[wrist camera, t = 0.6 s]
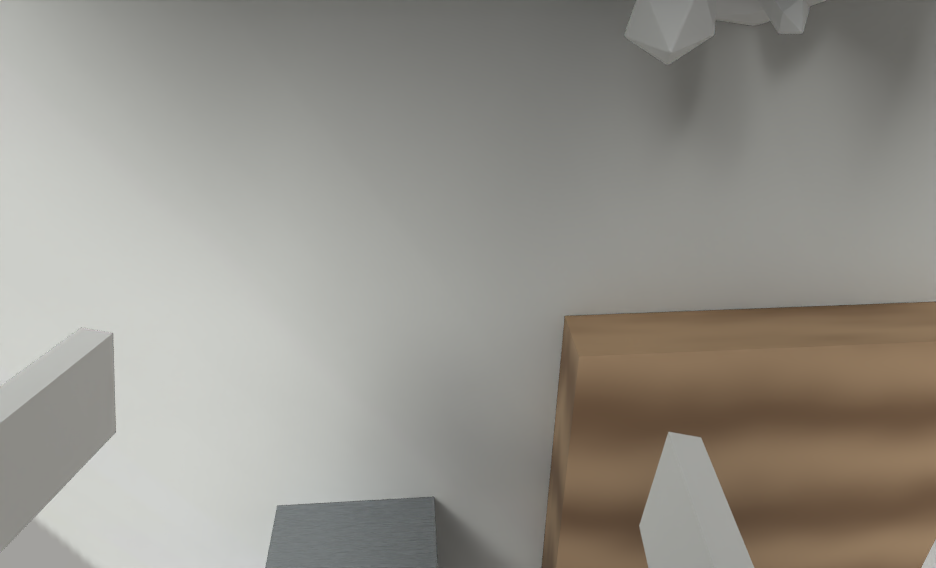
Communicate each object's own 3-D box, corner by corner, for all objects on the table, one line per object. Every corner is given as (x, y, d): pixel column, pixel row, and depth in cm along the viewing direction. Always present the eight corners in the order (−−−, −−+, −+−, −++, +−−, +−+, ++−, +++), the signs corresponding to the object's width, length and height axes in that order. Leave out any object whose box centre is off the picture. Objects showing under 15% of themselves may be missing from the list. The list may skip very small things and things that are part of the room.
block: (564, 315, 32) (579, 356, 29) (989, 299, 33) (1038, 336, 31) (538, 599, 42) (547, 647, 40) (864, 577, 44) (892, 622, 41)
